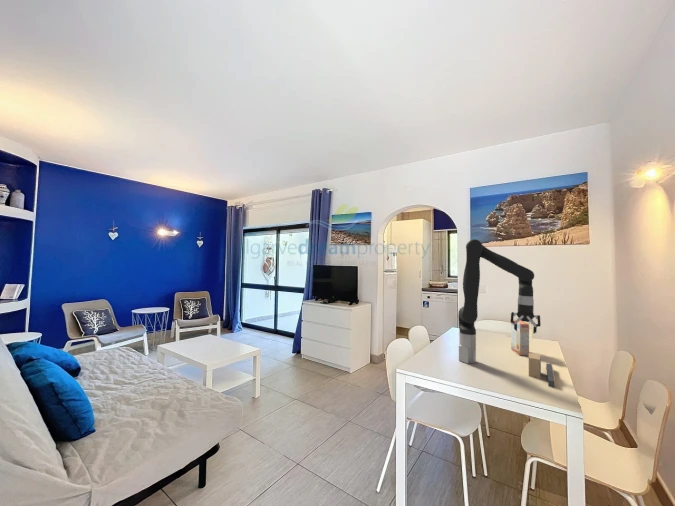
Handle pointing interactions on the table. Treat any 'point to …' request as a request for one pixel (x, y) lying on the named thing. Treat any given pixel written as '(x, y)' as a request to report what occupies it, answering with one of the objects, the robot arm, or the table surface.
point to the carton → (534, 365)
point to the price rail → (550, 375)
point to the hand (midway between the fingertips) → (525, 331)
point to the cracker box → (520, 338)
